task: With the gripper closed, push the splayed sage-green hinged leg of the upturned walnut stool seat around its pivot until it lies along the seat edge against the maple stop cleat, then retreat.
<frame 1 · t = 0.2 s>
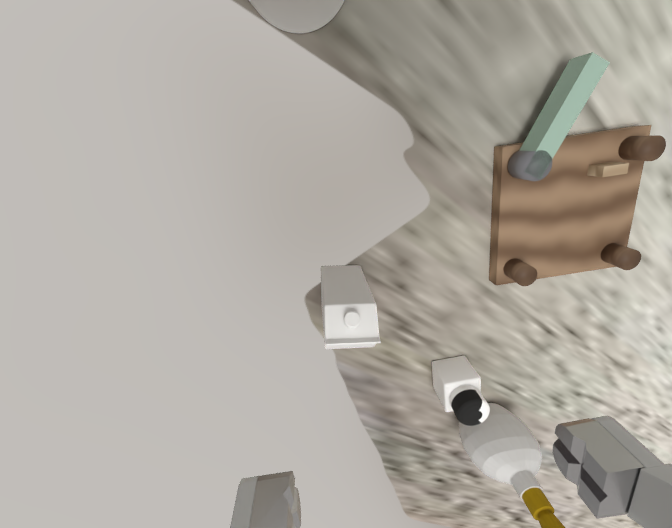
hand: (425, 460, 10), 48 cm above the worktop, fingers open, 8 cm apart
stool seat: (557, 208, 58), on the worktop
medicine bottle: (448, 370, 69), on the worktop
hinged leg: (553, 123, 48), point 5 cm above the worktop, hinge at 60.0°
milk carton: (340, 282, 60), on the worktop
soap bottle: (478, 411, 74), on the worktop
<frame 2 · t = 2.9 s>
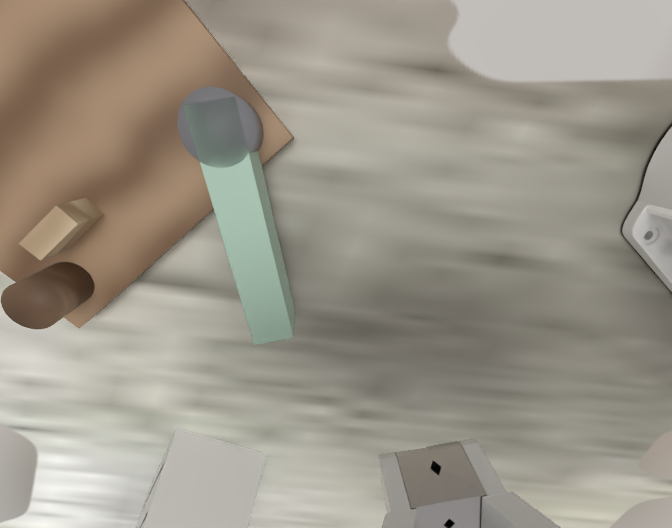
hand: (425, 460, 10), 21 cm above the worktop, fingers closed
stool seat: (62, 111, 24), on the worktop
hinged leg: (249, 225, 23), point 5 cm above the worktop, hinge at 60.0°
whitish tall narrow block: (208, 470, 38), on the worktop
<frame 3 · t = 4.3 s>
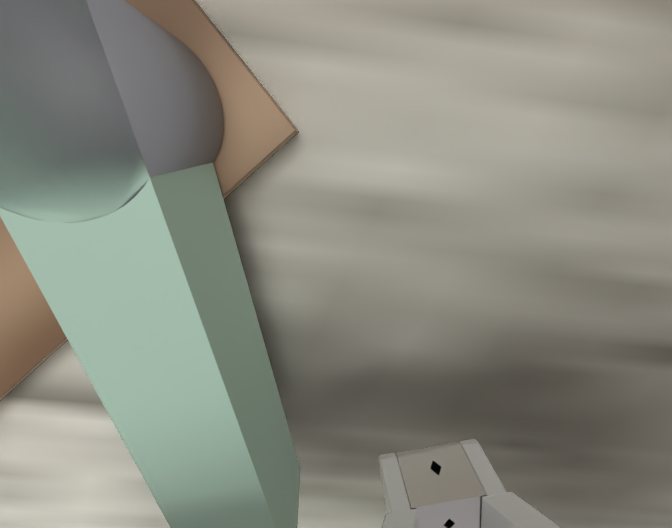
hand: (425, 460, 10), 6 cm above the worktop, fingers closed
hinged leg: (190, 341, 10), point 5 cm above the worktop, hinge at 60.0°
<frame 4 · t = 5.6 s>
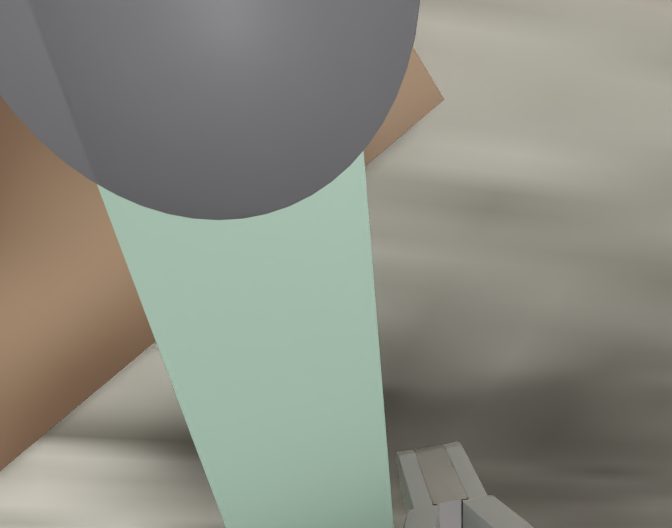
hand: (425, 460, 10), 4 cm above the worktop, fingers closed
hinged leg: (301, 382, 7), point 5 cm above the worktop, hinge at 57.5°, touching gripper
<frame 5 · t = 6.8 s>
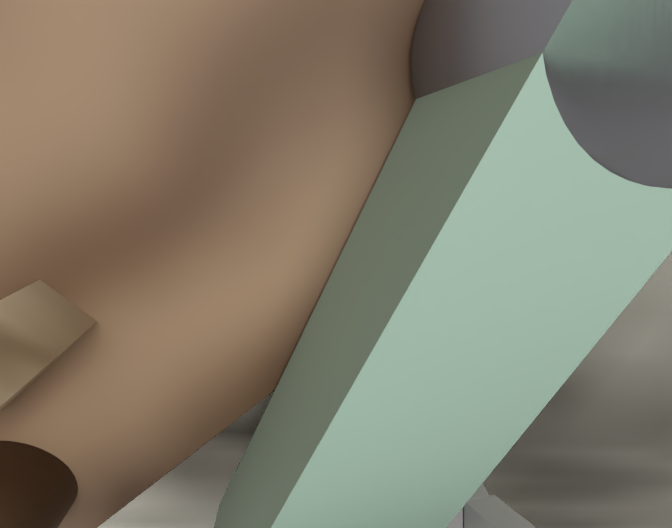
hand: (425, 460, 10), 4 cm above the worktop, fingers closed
hinged leg: (395, 351, 7), point 5 cm above the worktop, hinge at 25.0°, touching gripper
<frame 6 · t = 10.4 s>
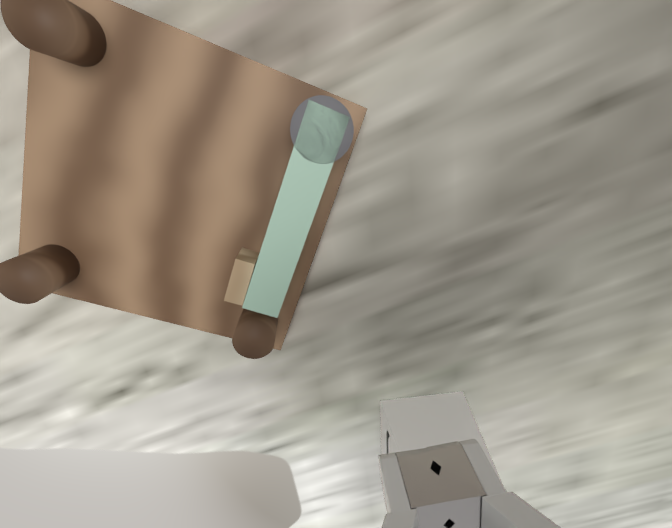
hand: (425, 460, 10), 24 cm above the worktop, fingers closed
stool seat: (193, 196, 30), on the worktop
hinged leg: (293, 211, 26), point 5 cm above the worktop, hinge at -0.9°
whitish tall narrow block: (420, 426, 43), on the worktop
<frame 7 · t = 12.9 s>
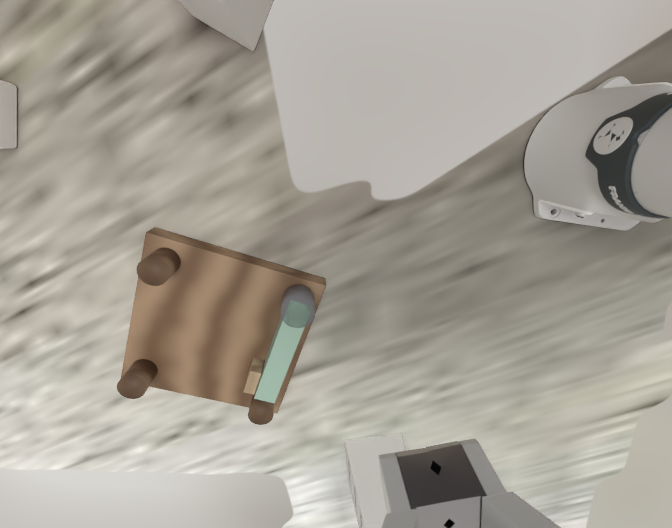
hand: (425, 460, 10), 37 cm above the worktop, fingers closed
stool seat: (224, 325, 49), on the worktop
hinged leg: (283, 344, 46), point 5 cm above the worktop, hinge at -0.9°
milk carton: (236, 1, 36), on the worktop
whitish tall narrow block: (373, 455, 62), on the worktop
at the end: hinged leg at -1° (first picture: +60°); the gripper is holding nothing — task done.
